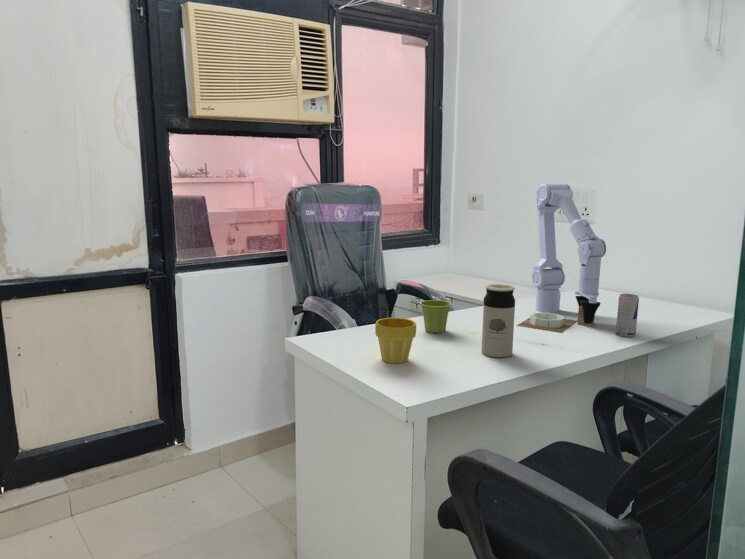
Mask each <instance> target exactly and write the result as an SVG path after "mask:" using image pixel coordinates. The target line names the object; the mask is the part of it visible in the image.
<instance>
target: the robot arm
mask: <svg viewBox="0 0 745 559" xmlns="http://www.w3.org/2000/svg"><path fill="white" fill-rule="evenodd" d="M535 196H536V197H535V198H536V199H535V200H536V201H535V202H536V211H537V227H538V228H537V230H538V231H537V234H538V250H539V261H537V262H536V263H535V264H534V265H533V266H532V274H531V282H532V285H534V288H536V292H535V293H536V295H535V311H536V312H537V313H553V314H556V313H558V311H562V309H560V307H561V291H560V289H561V288H562V286H563V285H564V284H565V280H566V275H565V272H564V268H563V264H562V263H561V262H560V261H559V260H558V259H557V248H556V228H555V213H556V211H557V210H559V209H560V210H561V211H562V213H563V215H564V216H565V217H566V218H567V220H568V222H569V223H570V227H569V231H570V233H571V234H572V236H573V238H574V240H575V242H576V243H577V245H578V247H577V248H576V251H577V254H578V262H579V263H580V266H579V279H578V280H579V281H578V290H575V291H574V295H575V299H576V302H577V304H578V308H579V307H580V306H581V305H582V309H583V318H584V323H585V324H592V322H593V319H594V320H595V317H594V315H596V312H597V311H598V309H599V308H600V306H601V302H599V301H597V299H598V297H599V294H600V293H599V287H600V277H601V263H602V262H601V261H602V257H604V256H605V255H606V253H607V245H606V242H605V240H604V239H603V238H600V237H599V236H596V234H595V232H594V231H593V229H592V227H591V224H590V222H589V221H588V220H587V219H584V218H583V219H582V217H581V214H580V213H579V210H578V208H577V206H576V204H575V202H574V199H573V197H574V191H573V190H572V188H571V186H570V185H569V184H568V183H562V184H561V183H558V184H557V183H556V184H555V183H542V184H540V185H539V187H538V189H537V190H536V192H535Z"/></svg>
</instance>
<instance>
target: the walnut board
mask: <svg viewBox="0 0 745 559" xmlns="http://www.w3.org/2000/svg"><path fill="white" fill-rule="evenodd" d="M576 323H578V319H569V318H565V319H564V325H563V326H562V327H560V328H545V327H539V326H535V325H533V324H531V323H530V317H529V318H528V317H527V319H525V320H523V321H521V322H520V323H518V324H516V325H515V326H516V327H521V328H522V327H523V328H528V329H534V330H540V331H545V332H551V333H552V332H553V333H559V334H563V333H564V332H565V331H566V330H568V329H569V328H571V327H572V326H574V325H575V324H576Z"/></svg>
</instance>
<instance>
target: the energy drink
mask: <svg viewBox="0 0 745 559" xmlns="http://www.w3.org/2000/svg"><path fill="white" fill-rule="evenodd" d="M639 300H640V299H639V295H636V294H633V293H620V294H619V296H618V305H617V306H618V307H617V315H616V316H617V317H616V326H615V332H616V333H615V334H616V335H617V336H620V337H623V336H624V337H623V338H634V337H635V336H636V334H637V324H638V323H637V322H638V312H639V303H640V302H639Z"/></svg>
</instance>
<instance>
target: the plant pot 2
mask: <svg viewBox="0 0 745 559" xmlns="http://www.w3.org/2000/svg"><path fill="white" fill-rule="evenodd" d="M419 304H420V306H421V309H422V315H423V322H424V325H423V326H424V330H425V332H427V333H431V334H434V333H438V334H442V333H445V332H446V329H447V322H448V316H449V312H450V307H451V306H452V303H451V302H450V301H448V300H440V299H429V300H422V301H420V302H419Z"/></svg>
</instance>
